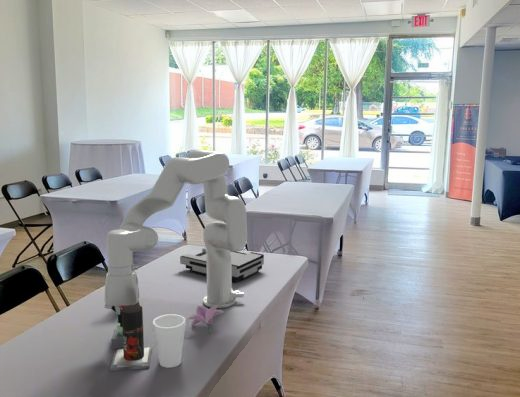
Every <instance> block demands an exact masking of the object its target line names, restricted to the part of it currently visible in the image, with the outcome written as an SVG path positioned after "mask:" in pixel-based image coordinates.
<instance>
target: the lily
mask: <svg viewBox="0 0 520 397" xmlns="http://www.w3.org/2000/svg"><path fill="white" fill-rule="evenodd" d="M196 306H197V307H196V309H195V310H196V312H195V313H196V314H195V315H192V316H189V317H188V318H187V320H189V321H190V320H192V324H191V326H192V327H193V326H196V325H197V324H200V323H202V322H204V323H206V325H207V329H208V330H207V331H208V333H209V335H210V334H211V331H210V326H209V324H210V323H211V324H213V317H215V316H217V315H220V314H222V313H225V310H223V309H218V308H217V306H214V307H209V309H208V308H207V306H206V307H205V306H203V305H196Z"/></svg>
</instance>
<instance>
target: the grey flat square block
mask: <svg viewBox="0 0 520 397" xmlns="http://www.w3.org/2000/svg"><path fill="white" fill-rule="evenodd" d="M152 351H153V347H152V346H151V347H150V346H148V347H144V357H143V358H142V359H140V360H136V361H127V360H125V359H124V351H123V348H114V353H113V357H112V359H111V360H112V361H111V363H110V367H109V372H112V371H113V372H114V371H115V372H116V371H125V370H141V369H150V366H151V359H152V353H153V352H152Z"/></svg>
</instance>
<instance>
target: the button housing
mask: <svg viewBox="0 0 520 397" xmlns="http://www.w3.org/2000/svg"><path fill="white" fill-rule="evenodd" d="M110 341H111V342H110V343H111V349H123V335H119V334H117V328H114V330H113V333H112V337H111V340H110Z"/></svg>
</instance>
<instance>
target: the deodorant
mask: <svg viewBox="0 0 520 397" xmlns="http://www.w3.org/2000/svg"><path fill="white" fill-rule="evenodd" d="M121 310H122V330H123V348H122V349H123V351H124V359H125V360H127V361H136V360H140V359H142V358H143V357H144V348H145V345H144V344H145V343H144V342H145V341H144V318H143V316H144V315H143V314H144V313H143V306H142V305H141V304H140V305H128V306H125V307H123V308H122V309H121Z"/></svg>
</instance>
